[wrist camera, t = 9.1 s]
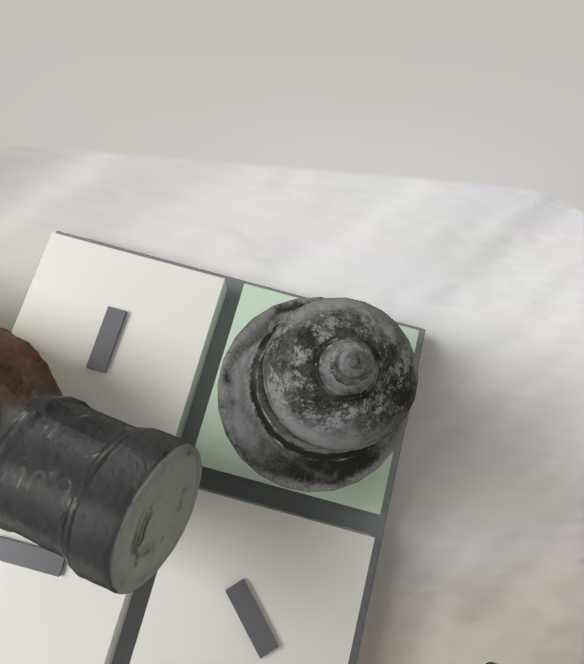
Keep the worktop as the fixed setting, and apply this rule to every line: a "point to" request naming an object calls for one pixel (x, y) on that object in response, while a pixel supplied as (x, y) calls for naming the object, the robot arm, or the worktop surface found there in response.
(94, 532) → the sauce bottle
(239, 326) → the green key
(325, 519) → the keypad board
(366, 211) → the worktop surface
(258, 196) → the worktop surface
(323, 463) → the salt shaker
